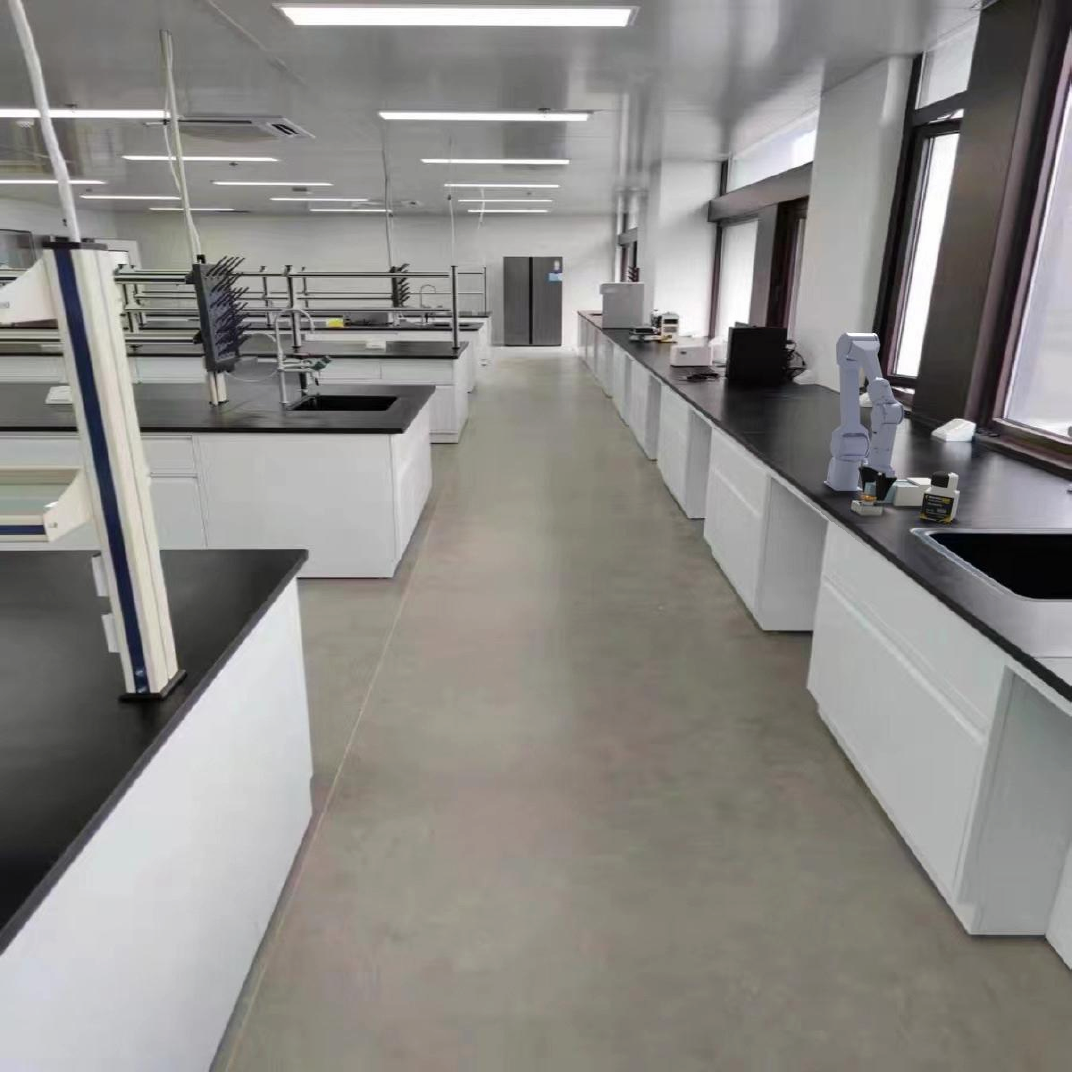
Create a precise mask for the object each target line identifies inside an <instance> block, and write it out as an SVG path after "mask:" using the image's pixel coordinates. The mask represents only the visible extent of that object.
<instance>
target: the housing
mask: <svg viewBox="0 0 1072 1072" xmlns="http://www.w3.org/2000/svg"><path fill="white" fill-rule="evenodd" d="M895 482H912V483H914V484H916V485H918V486H903V485H896V489H895V495H894V501H893V503H892V505H893V506H896V507H898V506H901V507H903V506H904V507H905V506H906V507H907V506H908V507H910V506H911V507H920V506H922V501H923V496H924V492H925V491H926V490H927V489H928V488H930V483H931V478H929V477H906V479H897V480H896V481H895Z"/></svg>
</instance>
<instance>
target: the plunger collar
mask: <svg viewBox="0 0 1072 1072" xmlns="http://www.w3.org/2000/svg"><path fill="white" fill-rule="evenodd" d="M861 502H862V500H852V501H851V508H850V510H852V511H853V512H855V511H856V512H857V513H856V512H855V513H856V514H858V513H859V514H860V515H859V514H858V515H859V516H883V509H884V506H883V505H882V504H880V503H876V502H874V505H873V506H864V505H862V504H861Z"/></svg>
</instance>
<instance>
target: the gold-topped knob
mask: <svg viewBox="0 0 1072 1072" xmlns="http://www.w3.org/2000/svg"><path fill="white" fill-rule="evenodd" d="M876 498H877V497H876V496H875V495H871V494H864V493H861V494H860V499H861V501H862V502H861V504H862V505H864V506H873V505H874V500H876Z"/></svg>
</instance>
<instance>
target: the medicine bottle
mask: <svg viewBox="0 0 1072 1072" xmlns="http://www.w3.org/2000/svg"><path fill="white" fill-rule="evenodd" d="M930 479H931V483H930V488H928V489H927V490H926V491H925V492H924V496H923V501H922V506H921V507H920V511H919V518H920V519H925V520H931V521H936V520H940V521H939V522H941V521H947V522H950V521H951V520H952V521H953V519H955V517H956V512H957V508H958V505H959V499H960V495H961V494H960V493H961V492H960V490H957V488H958V483H959V475H958V474H956V473H954V472H950V471H947V470H943V471H941V470H939V471H934V472H933V473H932V474H931V478H930ZM952 521H951V522H952ZM951 522H950V523H951Z"/></svg>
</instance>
